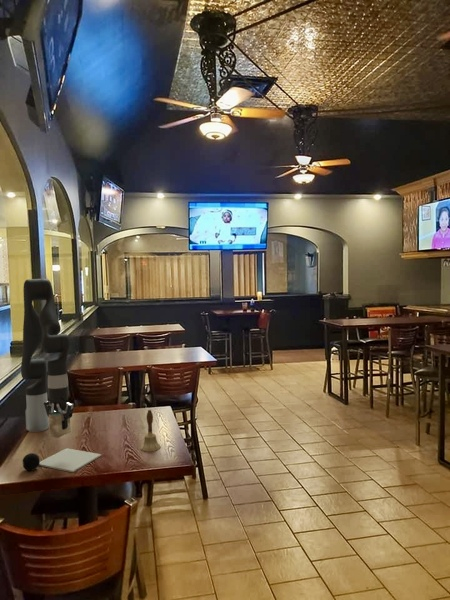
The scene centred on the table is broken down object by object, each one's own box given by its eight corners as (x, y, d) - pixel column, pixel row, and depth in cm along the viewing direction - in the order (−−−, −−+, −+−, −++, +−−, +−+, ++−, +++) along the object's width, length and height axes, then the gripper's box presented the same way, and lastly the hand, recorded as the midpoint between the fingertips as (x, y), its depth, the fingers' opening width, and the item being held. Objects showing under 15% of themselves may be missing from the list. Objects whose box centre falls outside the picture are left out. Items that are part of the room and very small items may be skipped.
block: (49, 436, 179) (48, 413, 178) (63, 430, 185) (61, 408, 184) (57, 438, 177) (56, 415, 176) (70, 431, 183) (69, 409, 183)
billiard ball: (21, 468, 174) (20, 453, 173) (38, 464, 177) (37, 449, 176) (24, 474, 168) (23, 458, 168) (41, 470, 172) (40, 454, 171)
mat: (36, 465, 176) (36, 463, 176) (66, 449, 191) (66, 448, 191) (73, 472, 169) (73, 470, 169) (101, 455, 184) (101, 454, 184)
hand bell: (164, 445, 193) (162, 407, 192) (154, 452, 186) (153, 414, 184) (146, 443, 196) (145, 406, 195) (136, 450, 188) (135, 412, 187)
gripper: (36, 386, 179) (39, 429, 180) (65, 389, 173) (67, 433, 174) (51, 381, 186) (53, 423, 187) (79, 384, 180) (81, 427, 181)
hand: (60, 428), depth 181 cm, fingers closed on block, 4 cm apart
